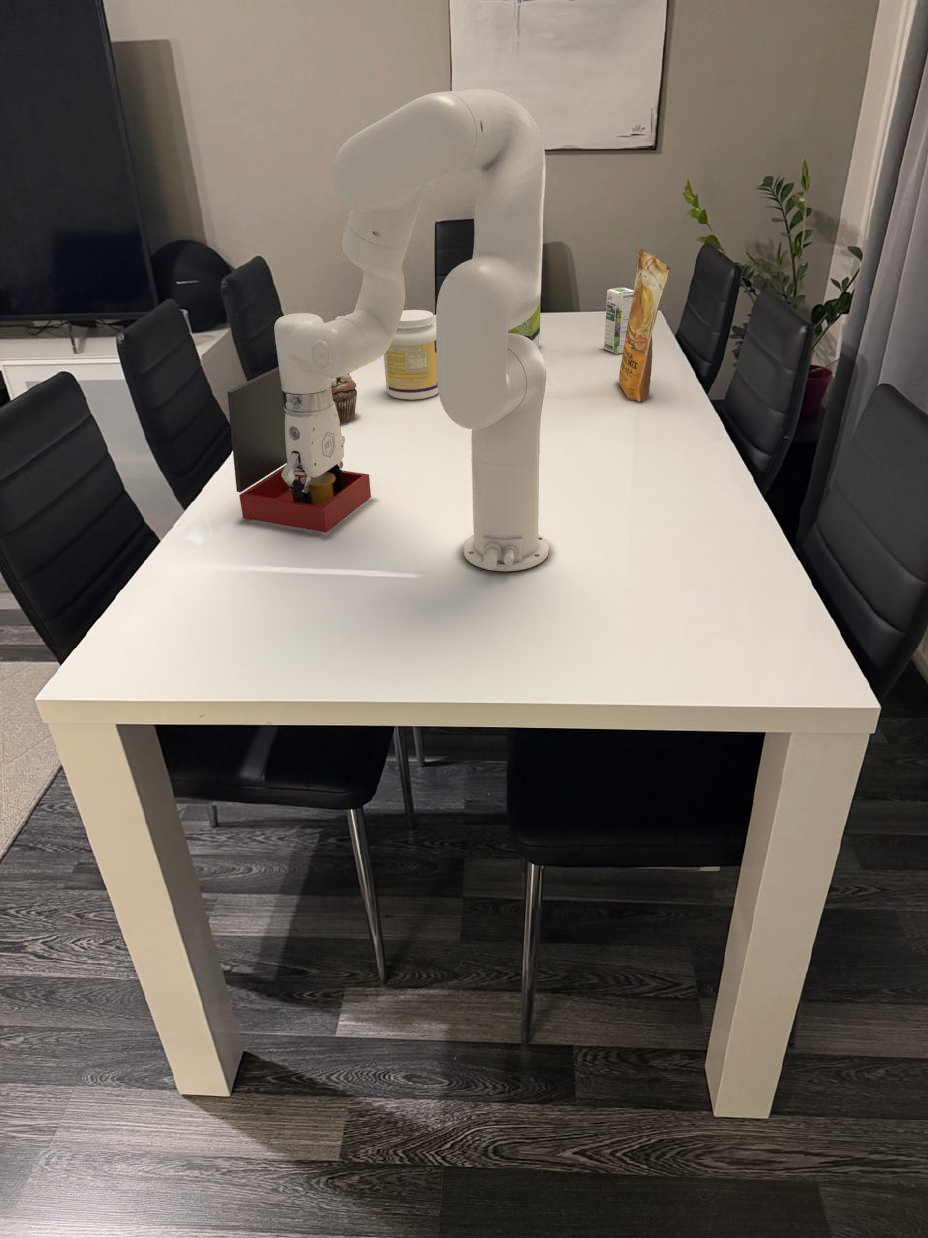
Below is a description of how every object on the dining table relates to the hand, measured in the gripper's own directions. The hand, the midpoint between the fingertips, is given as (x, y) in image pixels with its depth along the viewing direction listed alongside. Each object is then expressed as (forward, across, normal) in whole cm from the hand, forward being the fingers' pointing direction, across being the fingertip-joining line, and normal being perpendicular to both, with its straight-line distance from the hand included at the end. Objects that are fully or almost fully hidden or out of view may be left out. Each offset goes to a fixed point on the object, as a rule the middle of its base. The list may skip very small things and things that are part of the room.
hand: (320, 502), depth 150 cm
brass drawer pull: (+1, 0, 0) cm, 1 cm away
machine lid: (-11, 0, +9) cm, 14 cm away
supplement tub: (+2, +63, +14) cm, 65 cm away
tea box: (+2, +102, +7) cm, 103 cm away
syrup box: (+2, +110, -20) cm, 112 cm away
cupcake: (+2, +42, +22) cm, 48 cm away
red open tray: (+2, 0, +2) cm, 3 cm away
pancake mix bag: (+2, +80, -32) cm, 86 cm away
